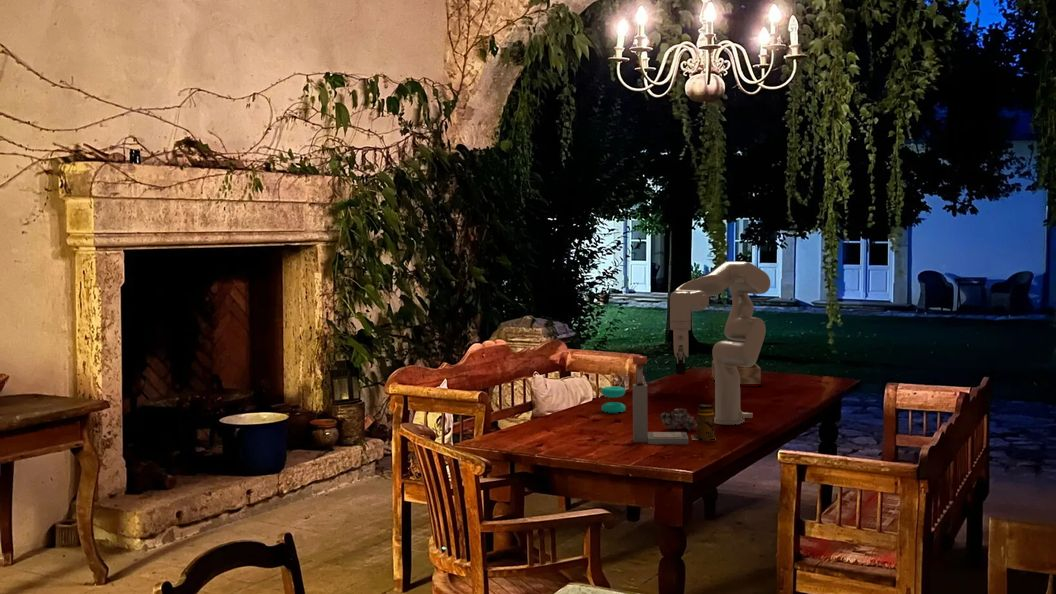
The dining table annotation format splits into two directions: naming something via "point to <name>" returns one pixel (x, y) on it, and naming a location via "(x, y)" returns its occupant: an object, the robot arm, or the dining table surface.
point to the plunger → (639, 368)
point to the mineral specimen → (678, 419)
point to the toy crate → (746, 374)
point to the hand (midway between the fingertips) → (680, 372)
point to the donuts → (613, 406)
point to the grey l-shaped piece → (642, 422)
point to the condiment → (705, 423)
